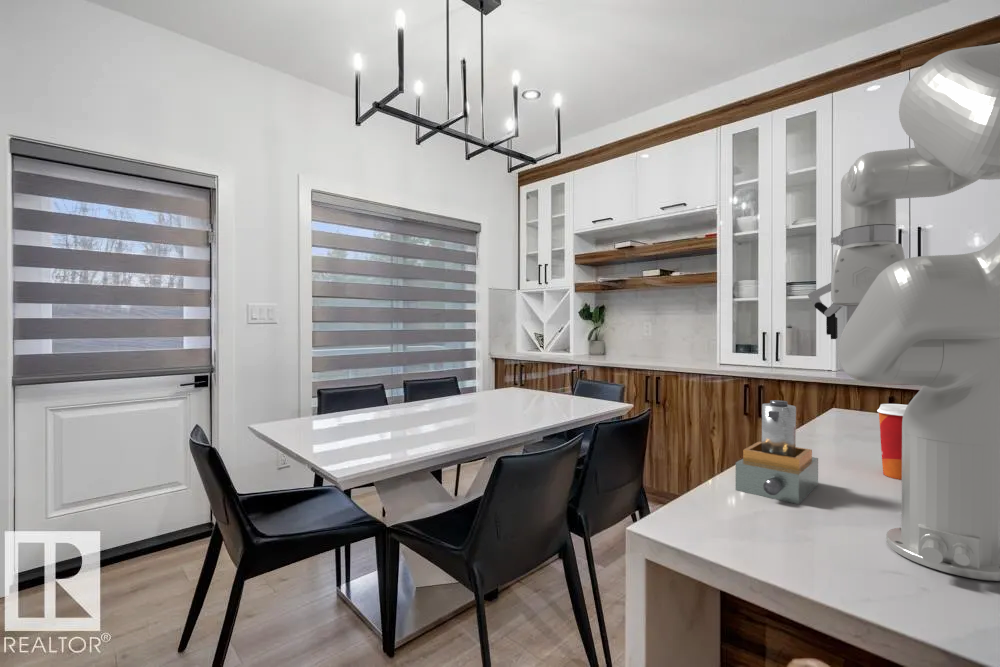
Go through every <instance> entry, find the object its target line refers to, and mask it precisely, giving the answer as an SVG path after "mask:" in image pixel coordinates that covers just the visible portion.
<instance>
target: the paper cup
mask: <svg viewBox="0 0 1000 667" xmlns="http://www.w3.org/2000/svg"><path fill="white" fill-rule="evenodd" d="M907 406H908V404H900V403H880V405H879V408H878V409H877V410H876V411H877V413H878V416H879V417H878V419H879V435H880V449H881V464H882V473H883V476H885V477H886V478H887V477H888V478H890V479H893V480H898V481H902V419H903V415H904V412H905V409H906V407H907Z"/></svg>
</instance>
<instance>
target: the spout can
mask: <svg viewBox="0 0 1000 667" xmlns="http://www.w3.org/2000/svg"><path fill="white" fill-rule="evenodd" d="M796 417H797V406H795V405H791V404H788V401H787V400H777V399H774V400H773V399H771V400H769V402H768V403H765V402H764V403H762V404H761V442H762V452H766V453H772V454H778V455H784V456H789V457H796V447H797V446H796V445H797V444H796V441H797V440H796V439H797V438H796V436H797V433H796V432H797V430H796V428H797V424H796V422H797V418H796Z"/></svg>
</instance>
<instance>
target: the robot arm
mask: <svg viewBox="0 0 1000 667" xmlns="http://www.w3.org/2000/svg"><path fill="white" fill-rule="evenodd" d="M898 107H899V108H898V117H899V122H900V124H901V127H902V129H903V131H904V132H905V134H906V135H907V136H908V137H909V138H910V139H911V140H912V141H913V145H914V147H910V148H909V147H907V148H896V149H887V150H885V149H884V150H878V151H877V150H875V151H870V152H867V153H864V154H862V155H861V156H859V157H858V158H857V159H856V160H855V161H854V163H853V164H852V165H851V166H850V168H849V170H848V171H847V172H846V173H844V175H843V176H842V178H841V181H840V233H839V234H838V236H834V237H831V238H830V245H831V246H839V247H840V248H839V249H836V250H835V252H834V255H833V260H832V261H833V262H832V268H831V269H832V270H831V282H829V283H827V284H826V285H823V286H822V287H820V288H817V289H815V290H813V291H811V292H808V295H807V296H808V298H809V300H810V302H811V303H812V304H813V307H814V308H815V309H817V311H819V312H820V313H821V314H822V315H824V316H825V317H826V320H825V321H826V332H825V333H826V335H827V336H830V340H837V339H838V334H839V333H838V317H837V316H836V314H838V312H839V311H840V309H842V308H843V307H856V308H855V310H854V311H853V312H852V314H851V316H850V317H849V319H848V321H847V323H846V324H845V326H844V327H843V330H842V333H841V335H840V338H839V343H838V347H837V348H838V350H837V356H838V360H839V361H838V362H839V365H840V366H841V368H842V369H843V372H844V373H845V374H846V375H847V376H849V377H850V378H852V379H853V380H854V381H855V380H856V381H858V382H860V383H863V384H870V385H884V386H886V385H888V386H889V385H890V386H919V387H921V388H920V389H919V390H918V392H917V393H916V394H915V395H914V396H913V398H911V400H910V401H909V403H908V404H907V405H908V406H907V407H906V409H905V412H904V415H903V419H902V480H901V500H900V501H901V503H900V504H901V508H900V509H901V512H900V513H901V514H900V516H901V518H900V519H901V521H900V522H901V523H900V527H896V528H892V529H890V530H888V531H887V532H886V538H885V539H886V544H887V545H888V546H889V547H890V548H891V549H892V550H893V551H894V552H896V553H897V554H899V555H900V556H901V557H904V558H906V559H908V560H909V561H912V562H914V563H916V564H919V565H922V566H924V567H928V568H930V569H933V570H937V571H939V572H943V573H946V574H951V575H955V576H958V577H964V578H969V579H975V580H981V581H994V582H1000V233H998V235H997V236H996V237H995V238H994V239H993V240H992V241H990V243H989V244H987V245H986V246H984V247H983V248H982V249H980V250H977V251H973V252H968V253H962V254H961V253H960V254H942V255H939V254H938V255H921V256H913V257H912V256H911V257H907V258H905V253H904V248H903V245H902V243H897V200H899V199H900V200H901V199H914V198H915V199H916V198H932V197H933V198H934V197H941V196H945V195H948V194H951V193H954V192H957V191H959V190H961V189H963V188H965V187H967V186H969V185H971V184H973V183H975V182H978V181H979V180H985V181H986V180H989V181H990V180H991V181H992V180H993V181H995V180H1000V43H992V44H987V45H978V46H977V45H976V46H969V47H962V48H957V49H952V50H947V51H945V52H942V53H940V54H938V55H936V56H934V57H933V58H931V59H929V60H928V61H926V62H925V63H924V64H923V65H921V67H919V68H918V70H917V71H915V73H914V74H912V77H911V78H910V79H909V80H908V83H907V84H906V86H905V87H904V90H903V92H902V95H901V98H900V102H899V106H898ZM828 293H830V298H831V302H832V303H831V304H830V306H826V305H825V304H824V303H823V302H822V301H821V297H822V296H824V295H826V294H828Z"/></svg>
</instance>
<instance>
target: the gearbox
mask: <svg viewBox="0 0 1000 667" xmlns="http://www.w3.org/2000/svg"><path fill="white" fill-rule="evenodd" d="M742 452H743V454H742V456H743V458H742V459H739V460H738V461H735V491H738V492H739V491H740V492H744V493H748V494H751V495H756V496H761V497H765V498H769V499H774V500H779V501H783V502H786V501H787V502H788V503H791V504H795V503H796V505H800V504H801V502H803V501H804V499H806V497H807V496H808V495H809V494H810V493H811V492H812V491H813V490H814V489H815V488H817V486H818V485H819V458H818V457H813V449H811V448H805V447H797V446H796V457H789V456H784V455H778V454H772V453H766V452H762V441H757V442H755V443H753V444H752V445H749V446H748V447H746V448H744V449H743V450H742Z"/></svg>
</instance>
